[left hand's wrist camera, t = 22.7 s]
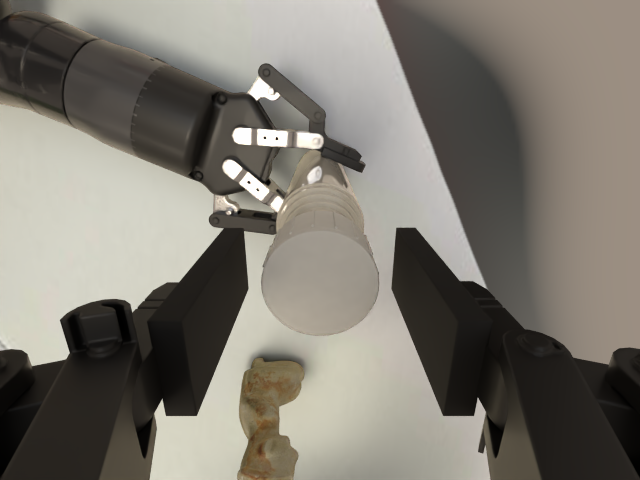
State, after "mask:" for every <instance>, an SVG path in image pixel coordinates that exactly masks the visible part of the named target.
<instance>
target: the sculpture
mask: <svg viewBox="0 0 640 480" xmlns="http://www.w3.org/2000/svg"><path fill="white" fill-rule="evenodd" d="M303 378H304V370H303V368H302V366H301V365H299V364H298V363H296V362H292V361H273V362H264V359H263V358H256V359H254V361H253V363H252V367H251V369H250V370H247V371H245V373H244V376H243V380H242V388H241V395H240V404H239V418H240V422H241V425H242V428H243V431H244V433H245V435H246V437H247V438H248V445H247V448H246V451H245V454H244V456H243V459H242V462H241V466H240V470H239V471H238V475H237V479H238V480H293V476H294V470H295V464H296V461H297V459H298V452H297V451H296V450H295V449H294V448H292V447H291V446H290V440H289V438H288V436H282V435H279V406H282V405H284V404H287V403H289V402H291V401H293V400H294V399H296V397H297V396H298V395H299V393H300V390H301V381H302V380H303Z"/></svg>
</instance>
